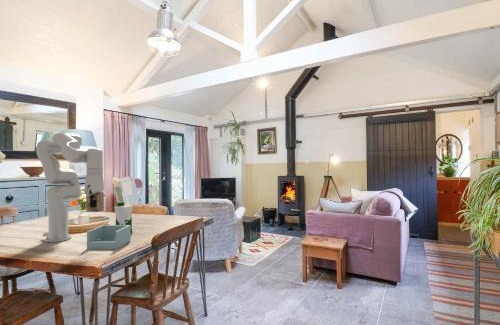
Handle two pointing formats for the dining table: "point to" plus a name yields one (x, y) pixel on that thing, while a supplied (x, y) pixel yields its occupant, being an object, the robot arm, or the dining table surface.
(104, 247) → the teal open bin
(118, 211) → the milk carton
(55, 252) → the dining table surface
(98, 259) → the dining table surface
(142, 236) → the dining table surface
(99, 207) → the tan upright block
